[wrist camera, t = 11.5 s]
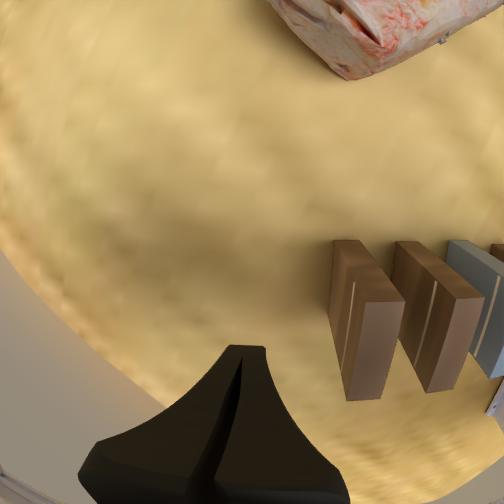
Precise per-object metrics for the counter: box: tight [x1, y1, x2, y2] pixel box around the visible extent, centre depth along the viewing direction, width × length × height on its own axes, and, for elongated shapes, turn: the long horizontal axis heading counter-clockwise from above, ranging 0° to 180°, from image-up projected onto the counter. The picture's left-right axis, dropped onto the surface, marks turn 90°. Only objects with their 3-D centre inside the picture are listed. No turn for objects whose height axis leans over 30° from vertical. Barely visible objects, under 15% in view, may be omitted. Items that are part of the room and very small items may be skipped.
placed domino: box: [446, 240, 504, 379], centre depth 14 cm, size 2×5×8 cm, turn 1°
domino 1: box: [328, 240, 405, 401], centre depth 15 cm, size 2×5×8 cm, turn 1°
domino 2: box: [391, 241, 485, 393], centre depth 15 cm, size 2×5×8 cm, turn 1°
